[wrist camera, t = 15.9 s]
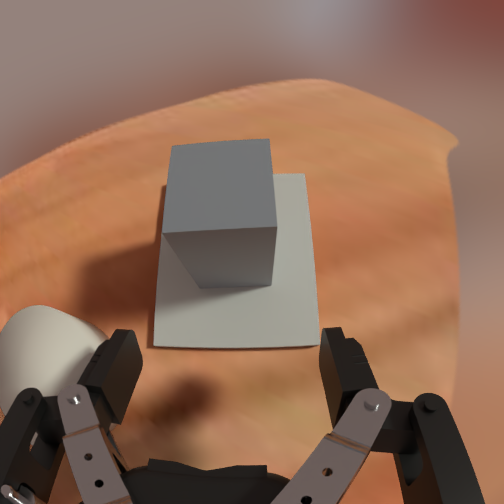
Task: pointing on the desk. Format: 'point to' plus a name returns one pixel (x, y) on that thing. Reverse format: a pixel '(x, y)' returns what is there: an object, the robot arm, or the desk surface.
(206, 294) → the rubber mat
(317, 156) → the desk surface
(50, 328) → the white round part
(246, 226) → the cap block
